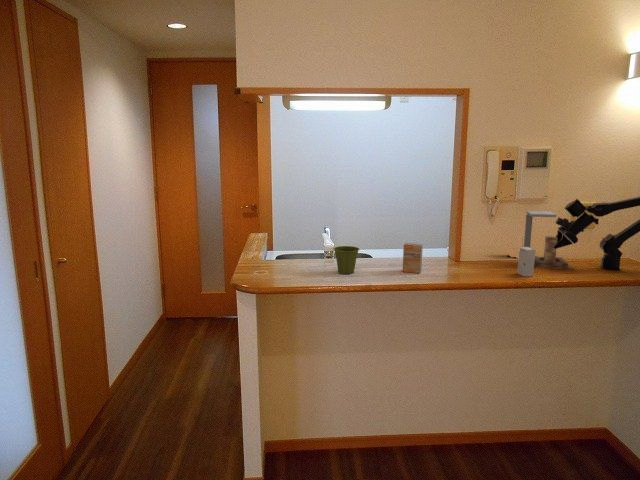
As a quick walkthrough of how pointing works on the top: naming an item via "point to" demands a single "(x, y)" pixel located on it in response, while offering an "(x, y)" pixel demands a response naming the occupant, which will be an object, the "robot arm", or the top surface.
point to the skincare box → (526, 261)
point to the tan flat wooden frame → (551, 263)
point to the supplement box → (412, 257)
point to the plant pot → (346, 258)
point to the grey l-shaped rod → (529, 223)
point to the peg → (550, 249)
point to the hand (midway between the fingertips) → (552, 246)
